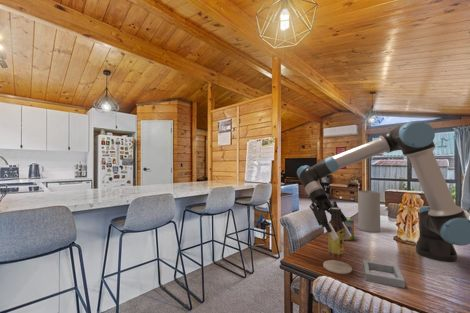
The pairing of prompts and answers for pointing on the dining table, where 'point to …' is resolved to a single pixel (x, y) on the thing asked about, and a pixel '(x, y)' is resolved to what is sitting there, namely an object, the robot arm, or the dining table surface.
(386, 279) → the pocket frame
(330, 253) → the sauce bottle
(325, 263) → the coaster
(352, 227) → the chalk box
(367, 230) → the cylinder vase
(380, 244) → the dining table surface
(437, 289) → the dining table surface
